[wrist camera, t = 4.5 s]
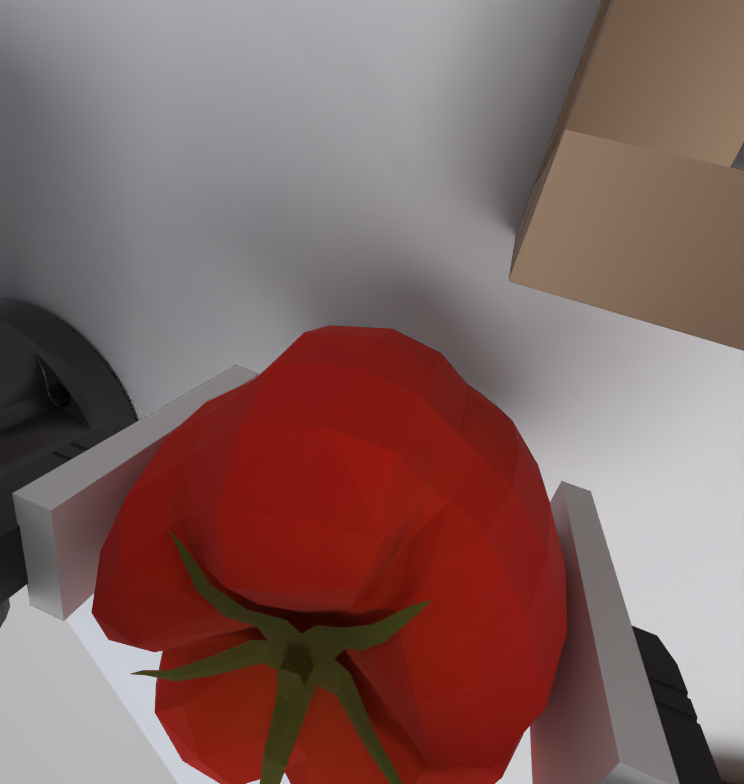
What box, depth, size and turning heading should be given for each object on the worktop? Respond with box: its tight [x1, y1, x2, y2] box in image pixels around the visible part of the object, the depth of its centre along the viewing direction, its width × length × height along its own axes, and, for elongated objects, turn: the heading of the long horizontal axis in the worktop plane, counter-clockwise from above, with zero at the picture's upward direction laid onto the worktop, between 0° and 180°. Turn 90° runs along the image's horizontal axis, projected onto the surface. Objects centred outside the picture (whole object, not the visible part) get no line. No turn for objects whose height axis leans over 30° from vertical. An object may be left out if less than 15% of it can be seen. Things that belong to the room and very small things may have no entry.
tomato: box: [92, 326, 567, 784], centre depth 10 cm, size 9×9×8 cm
